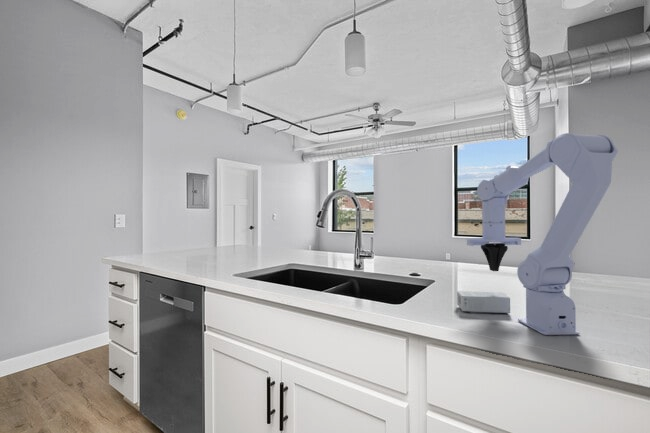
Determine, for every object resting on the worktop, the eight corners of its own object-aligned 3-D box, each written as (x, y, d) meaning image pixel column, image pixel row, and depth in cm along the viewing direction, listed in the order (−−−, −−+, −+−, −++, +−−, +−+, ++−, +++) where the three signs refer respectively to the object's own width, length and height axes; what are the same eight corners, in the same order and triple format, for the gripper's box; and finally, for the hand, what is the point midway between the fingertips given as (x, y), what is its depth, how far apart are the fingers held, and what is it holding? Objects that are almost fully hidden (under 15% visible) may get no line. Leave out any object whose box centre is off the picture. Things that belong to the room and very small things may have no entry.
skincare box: (462, 311, 84) (510, 313, 81) (461, 295, 84) (510, 297, 81) (456, 305, 90) (502, 306, 87) (456, 290, 90) (502, 291, 87)
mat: (509, 312, 83) (509, 311, 83) (470, 313, 83) (470, 311, 83) (494, 304, 90) (494, 303, 90) (458, 305, 90) (458, 304, 90)
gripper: (510, 221, 92) (510, 267, 92) (461, 222, 92) (462, 268, 92) (526, 222, 85) (526, 272, 85) (473, 223, 85) (474, 273, 85)
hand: (494, 270), depth 88 cm, fingers closed
